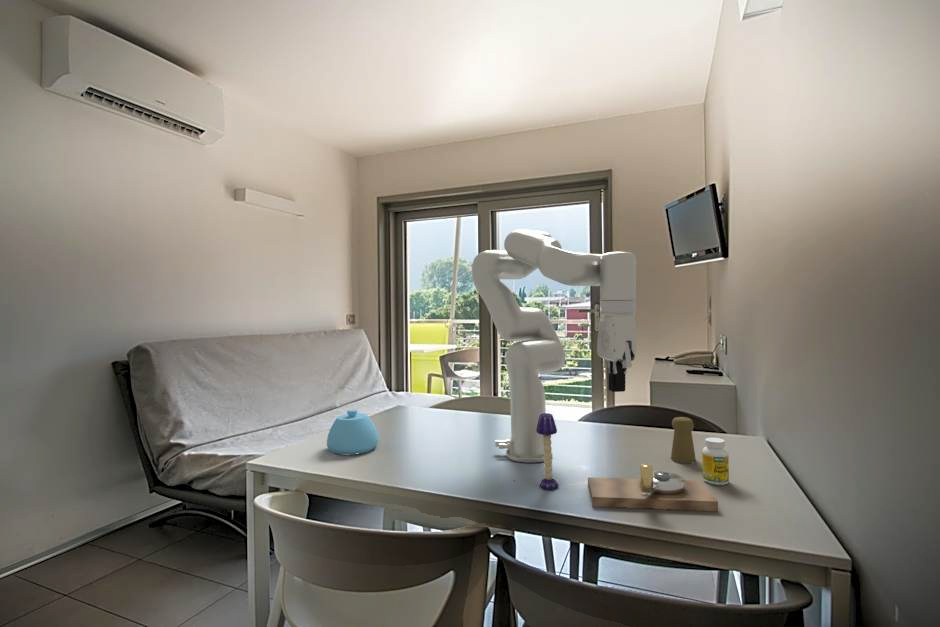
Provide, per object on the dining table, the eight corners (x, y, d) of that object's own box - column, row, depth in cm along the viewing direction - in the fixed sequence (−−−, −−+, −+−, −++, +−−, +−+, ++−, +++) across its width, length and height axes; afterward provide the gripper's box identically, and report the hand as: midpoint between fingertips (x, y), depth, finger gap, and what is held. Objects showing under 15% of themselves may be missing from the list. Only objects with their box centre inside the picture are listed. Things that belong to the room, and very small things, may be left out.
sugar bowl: (375, 439, 152) (374, 403, 152) (382, 453, 138) (381, 413, 137) (326, 445, 147) (325, 407, 147) (327, 459, 133) (326, 418, 133)
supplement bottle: (717, 476, 113) (716, 435, 113) (734, 484, 108) (734, 441, 108) (697, 478, 112) (696, 437, 112) (714, 487, 107) (713, 444, 106)
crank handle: (649, 475, 108) (649, 447, 108) (691, 484, 102) (690, 455, 102) (623, 492, 99) (622, 462, 99) (667, 504, 93) (666, 472, 92)
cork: (698, 464, 121) (698, 420, 121) (673, 463, 123) (672, 420, 122) (692, 456, 127) (692, 415, 127) (668, 455, 129) (667, 414, 128)
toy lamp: (558, 491, 106) (556, 416, 106) (537, 491, 107) (535, 416, 106) (558, 483, 111) (556, 412, 110) (538, 482, 112) (536, 411, 111)
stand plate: (592, 506, 98) (592, 495, 98) (588, 486, 109) (587, 476, 109) (718, 511, 94) (717, 500, 94) (700, 489, 105) (700, 479, 105)
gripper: (587, 307, 112) (587, 385, 113) (617, 310, 98) (616, 399, 99) (617, 307, 114) (616, 383, 114) (651, 309, 99) (650, 397, 100)
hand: (616, 390), depth 106 cm, fingers closed
